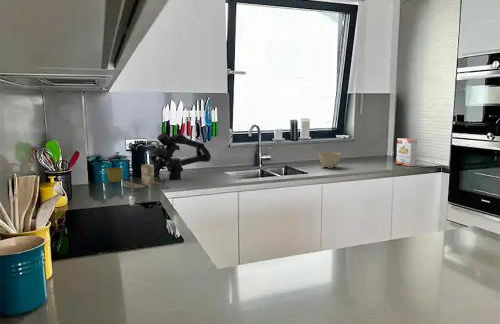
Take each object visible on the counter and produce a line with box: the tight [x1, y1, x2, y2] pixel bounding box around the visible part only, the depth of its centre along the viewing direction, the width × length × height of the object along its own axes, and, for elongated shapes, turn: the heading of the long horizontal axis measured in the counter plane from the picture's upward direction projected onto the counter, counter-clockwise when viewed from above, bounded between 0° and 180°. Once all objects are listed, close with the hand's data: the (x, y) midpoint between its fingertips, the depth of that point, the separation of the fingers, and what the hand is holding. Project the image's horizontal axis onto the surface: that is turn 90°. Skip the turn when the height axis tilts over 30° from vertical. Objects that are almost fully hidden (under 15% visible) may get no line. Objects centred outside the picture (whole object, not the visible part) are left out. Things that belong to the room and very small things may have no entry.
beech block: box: [140, 163, 155, 186], centre depth 223 cm, size 5×5×11 cm
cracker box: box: [395, 137, 418, 167], centre depth 297 cm, size 14×6×21 cm, turn 25°
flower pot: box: [106, 167, 123, 184], centre depth 233 cm, size 9×9×9 cm
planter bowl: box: [318, 151, 342, 169], centre depth 290 cm, size 16×16×11 cm
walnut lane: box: [122, 180, 162, 189], centre depth 221 cm, size 19×10×4 cm, turn 138°
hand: (154, 171), depth 226 cm, fingers closed
